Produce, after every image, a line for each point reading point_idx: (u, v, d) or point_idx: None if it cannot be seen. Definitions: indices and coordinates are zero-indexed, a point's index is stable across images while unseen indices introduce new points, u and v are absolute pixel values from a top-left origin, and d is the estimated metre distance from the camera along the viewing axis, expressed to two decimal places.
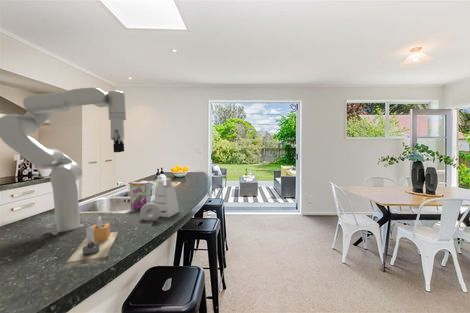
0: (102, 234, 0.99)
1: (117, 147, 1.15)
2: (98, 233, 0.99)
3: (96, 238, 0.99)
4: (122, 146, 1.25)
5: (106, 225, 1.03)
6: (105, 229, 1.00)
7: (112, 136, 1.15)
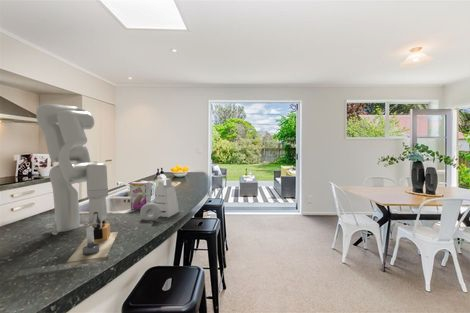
0: None
1: (97, 234, 0.98)
2: None
3: None
4: None
5: (106, 225, 1.03)
6: (105, 229, 1.00)
7: (90, 220, 0.96)
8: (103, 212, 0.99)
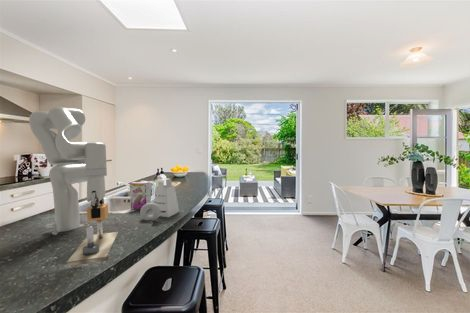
0: (100, 213, 0.99)
1: (95, 212, 0.97)
2: None
3: None
4: None
5: (104, 205, 1.02)
6: (103, 208, 0.99)
7: (89, 198, 0.96)
8: (101, 191, 0.99)
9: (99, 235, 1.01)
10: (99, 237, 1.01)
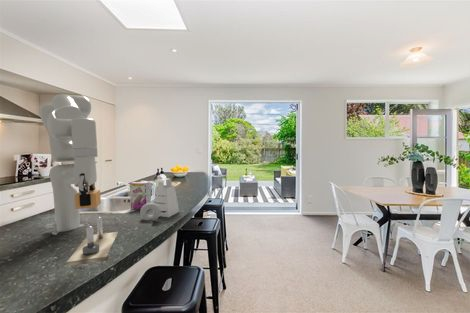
0: None
1: (84, 199, 0.83)
2: None
3: None
4: None
5: (95, 191, 0.88)
6: (94, 194, 0.85)
7: (76, 182, 0.82)
8: (91, 175, 0.85)
9: (99, 235, 1.01)
10: (99, 237, 1.01)
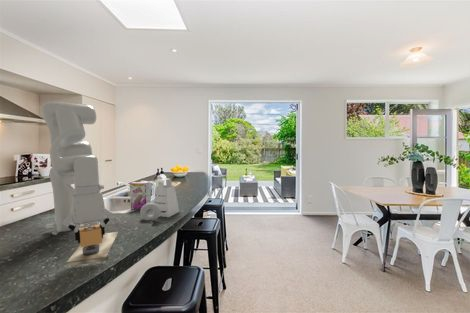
0: (80, 238, 0.85)
1: (75, 236, 0.85)
2: None
3: None
4: None
5: (91, 230, 0.86)
6: (80, 234, 0.84)
7: None
8: (80, 214, 0.84)
9: None
10: None
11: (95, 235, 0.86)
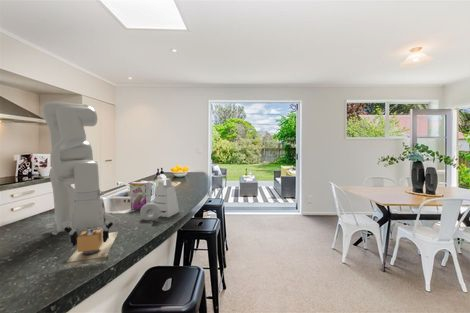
0: None
1: None
2: None
3: None
4: None
5: (88, 236, 0.86)
6: None
7: None
8: (78, 219, 0.85)
9: None
10: None
11: (92, 241, 0.86)
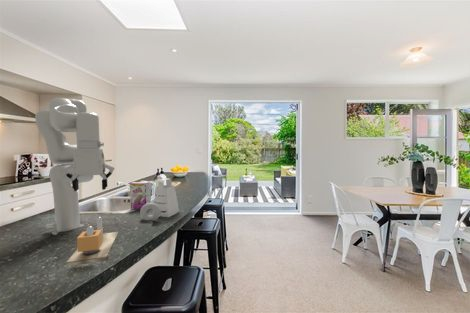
0: None
1: None
2: None
3: None
4: None
5: (88, 236, 0.86)
6: None
7: None
8: (79, 166, 0.91)
9: None
10: None
11: (92, 241, 0.86)
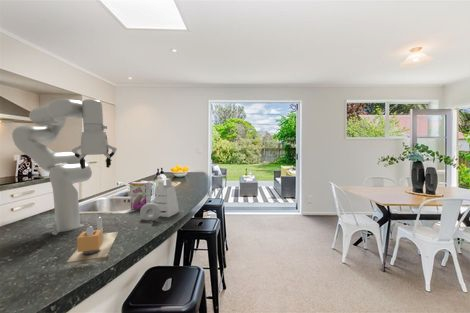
0: None
1: None
2: None
3: None
4: None
5: (88, 236, 0.86)
6: None
7: None
8: (86, 146, 1.04)
9: None
10: None
11: (92, 241, 0.86)
